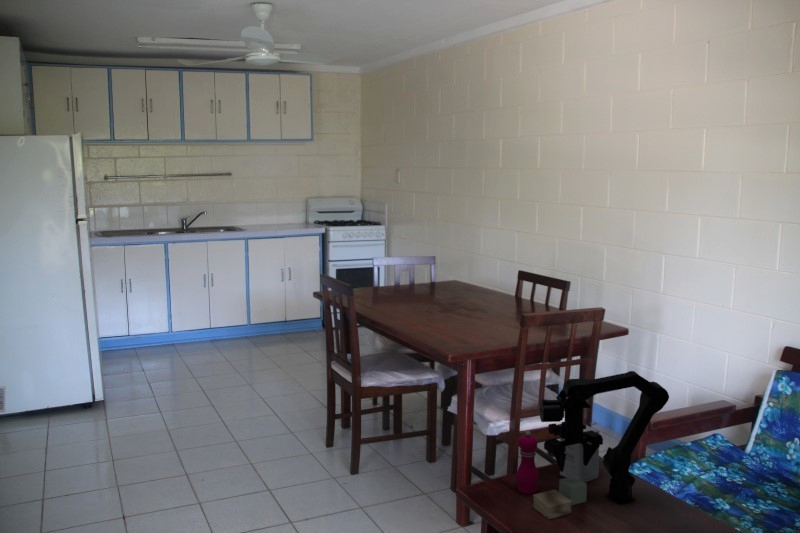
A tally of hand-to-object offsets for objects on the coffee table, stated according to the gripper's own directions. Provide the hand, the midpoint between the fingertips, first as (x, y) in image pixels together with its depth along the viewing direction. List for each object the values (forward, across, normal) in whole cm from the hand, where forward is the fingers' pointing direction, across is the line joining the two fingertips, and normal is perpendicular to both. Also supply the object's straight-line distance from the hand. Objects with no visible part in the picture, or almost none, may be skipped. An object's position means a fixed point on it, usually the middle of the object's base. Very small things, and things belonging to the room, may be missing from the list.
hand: (573, 468), depth 210 cm
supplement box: (+11, -12, -12) cm, 20 cm away
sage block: (+10, 0, 0) cm, 11 cm away
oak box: (+10, +10, +3) cm, 15 cm away
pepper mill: (+10, +9, -12) cm, 18 cm away
